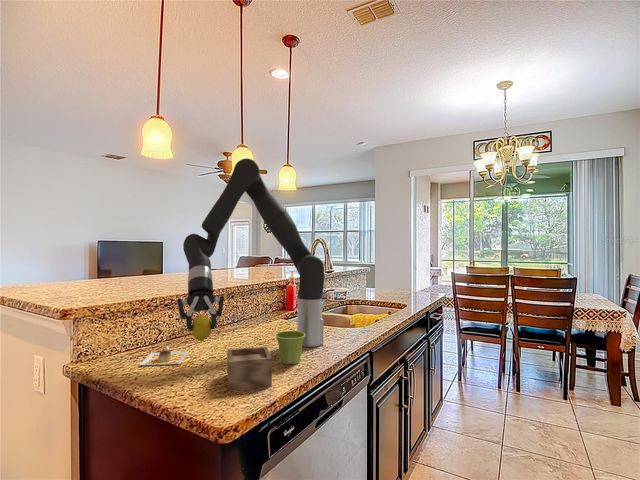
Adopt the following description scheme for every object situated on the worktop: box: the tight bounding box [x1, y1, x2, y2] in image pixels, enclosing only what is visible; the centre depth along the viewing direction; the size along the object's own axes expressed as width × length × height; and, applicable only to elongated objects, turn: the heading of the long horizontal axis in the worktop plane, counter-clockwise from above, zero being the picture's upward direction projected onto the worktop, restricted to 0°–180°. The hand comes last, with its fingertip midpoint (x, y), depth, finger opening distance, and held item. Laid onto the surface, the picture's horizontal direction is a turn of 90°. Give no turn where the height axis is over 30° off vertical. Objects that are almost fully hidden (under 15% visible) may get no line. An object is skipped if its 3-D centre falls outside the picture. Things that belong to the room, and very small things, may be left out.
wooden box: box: [226, 346, 273, 392], centre depth 95 cm, size 11×11×8 cm
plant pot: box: [275, 330, 305, 365], centre depth 110 cm, size 9×9×9 cm
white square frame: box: [138, 346, 189, 367], centre depth 111 cm, size 12×12×5 cm
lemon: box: [191, 314, 212, 342], centre depth 102 cm, size 6×6×8 cm
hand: (201, 328), depth 100 cm, fingers closed on lemon, 5 cm apart
